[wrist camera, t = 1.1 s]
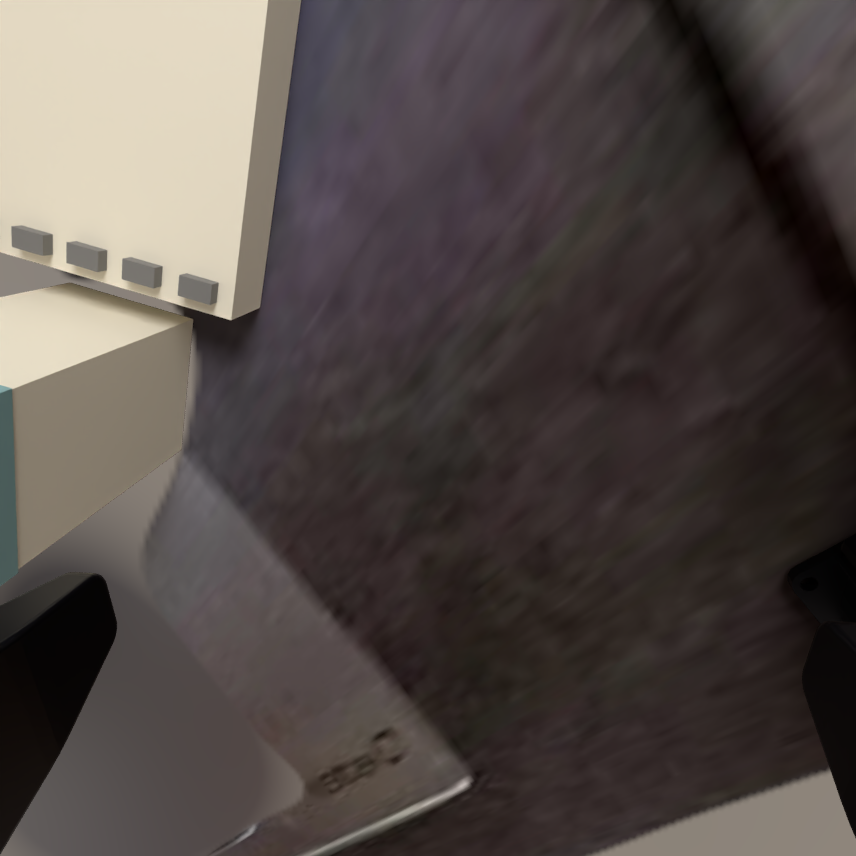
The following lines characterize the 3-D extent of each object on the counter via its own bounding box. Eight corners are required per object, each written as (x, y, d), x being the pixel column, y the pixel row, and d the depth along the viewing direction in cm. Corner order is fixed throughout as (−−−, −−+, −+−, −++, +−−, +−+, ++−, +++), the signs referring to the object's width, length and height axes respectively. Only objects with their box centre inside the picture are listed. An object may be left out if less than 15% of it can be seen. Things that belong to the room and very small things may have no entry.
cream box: (194, 318, 21) (-142, 447, 11) (182, 451, 23) (-109, 666, 13) (68, 280, 21) (-375, 371, 11) (67, 415, 23) (-307, 597, 13)
